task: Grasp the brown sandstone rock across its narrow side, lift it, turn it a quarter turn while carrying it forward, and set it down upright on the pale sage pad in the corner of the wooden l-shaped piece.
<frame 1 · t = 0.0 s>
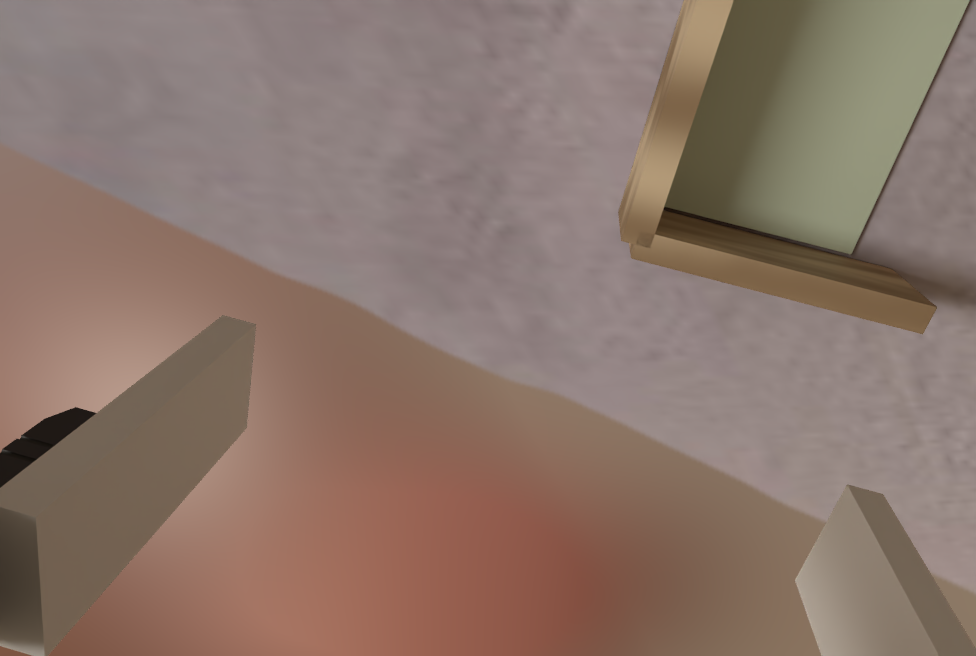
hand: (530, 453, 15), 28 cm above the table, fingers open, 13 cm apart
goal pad: (804, 105, 37), on the table
wooden l-shaped piece: (630, 215, 41), on the table
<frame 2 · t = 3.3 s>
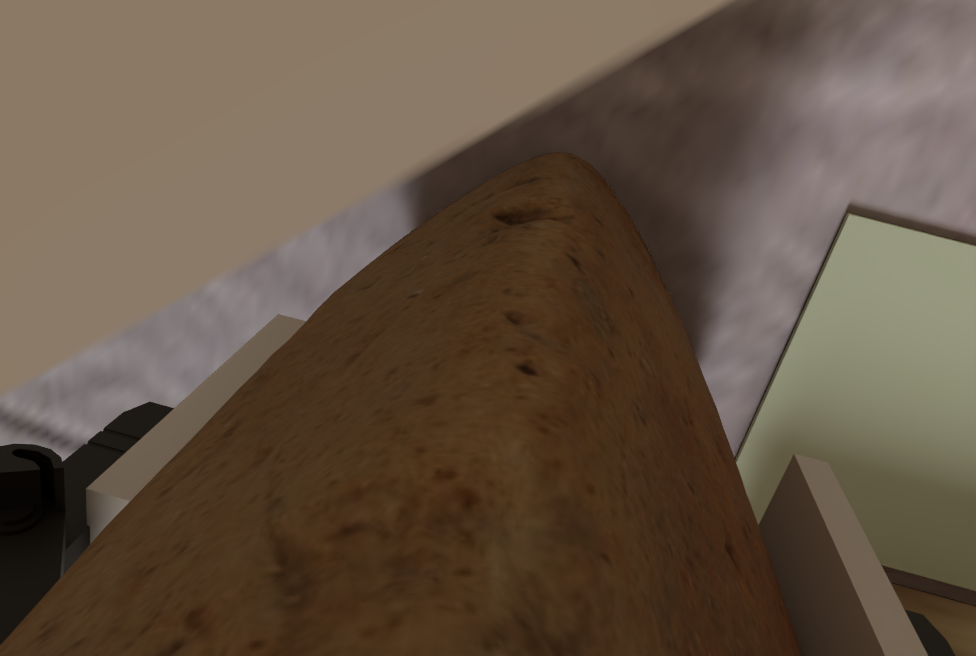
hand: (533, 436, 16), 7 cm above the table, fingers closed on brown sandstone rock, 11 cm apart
brown sandstone rock: (560, 320, 23), on the table, touching gripper
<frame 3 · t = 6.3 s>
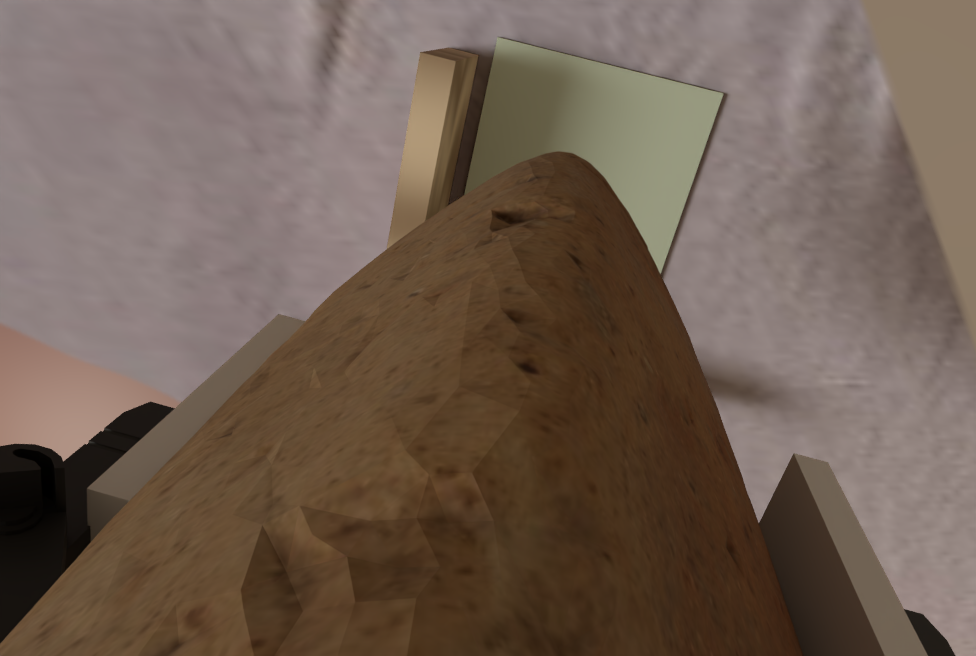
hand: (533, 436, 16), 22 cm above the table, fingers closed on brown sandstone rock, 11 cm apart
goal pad: (570, 205, 36), on the table
brown sandstone rock: (560, 319, 23), point 15 cm above the table, touching gripper
wooden l-shaped piece: (413, 308, 40), on the table
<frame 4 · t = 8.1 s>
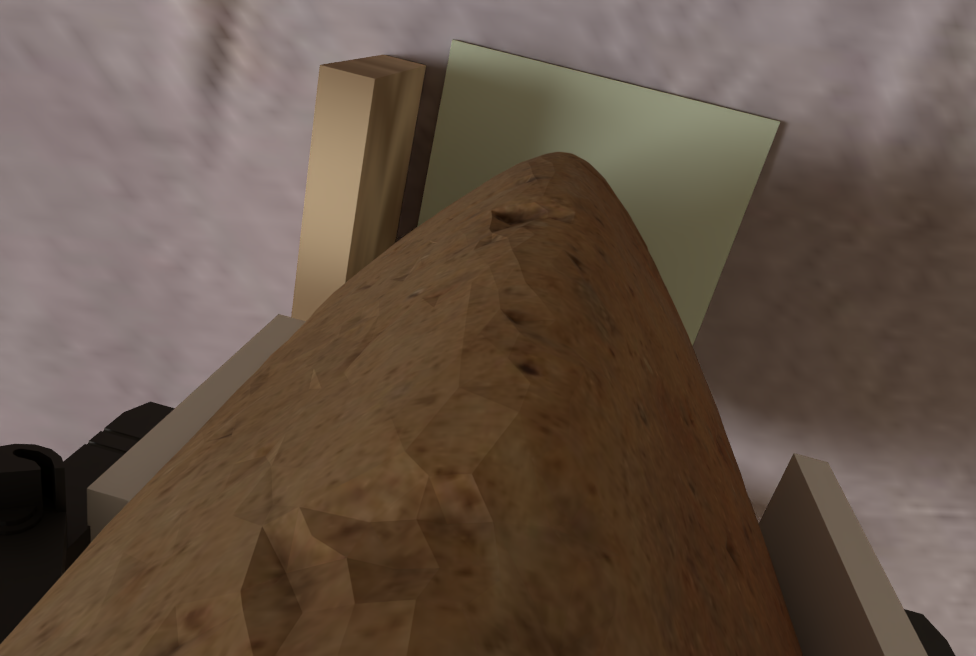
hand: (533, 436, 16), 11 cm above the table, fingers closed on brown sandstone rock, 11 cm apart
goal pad: (559, 274, 26), on the table
brown sandstone rock: (560, 319, 23), point 4 cm above the table, touching gripper
wooden l-shaped piece: (349, 405, 30), on the table
when the fingers open (8 cm above the table, at t = 9.3 s): brown sandstone rock drops 1 cm, resting on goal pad.
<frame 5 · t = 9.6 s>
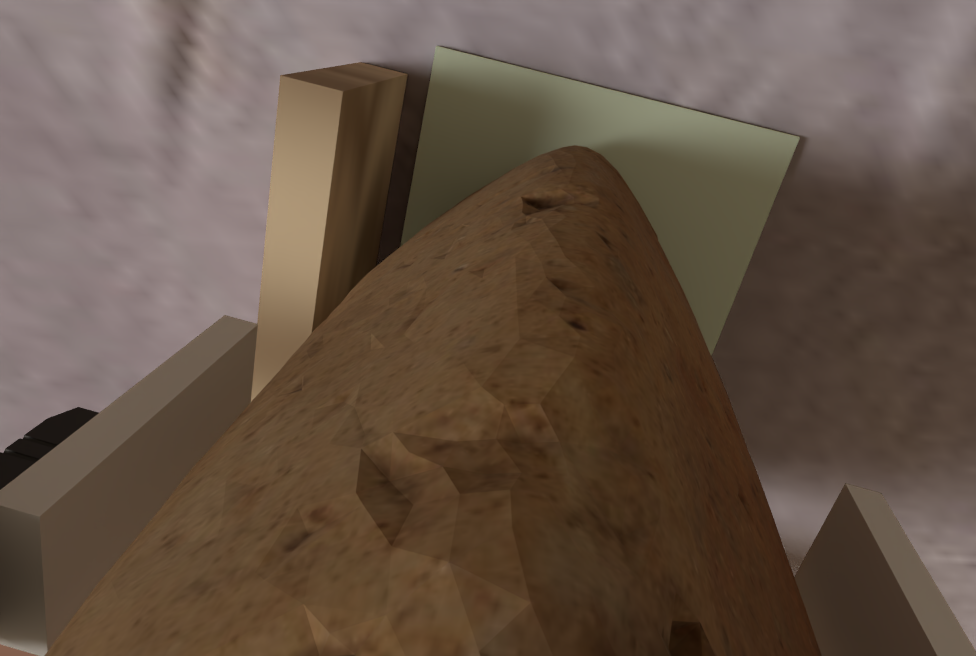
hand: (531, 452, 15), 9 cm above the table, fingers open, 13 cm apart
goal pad: (555, 302, 24), on the table
brown sandstone rock: (571, 306, 24), resting on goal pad
wooden l-shaped piece: (327, 440, 27), on the table
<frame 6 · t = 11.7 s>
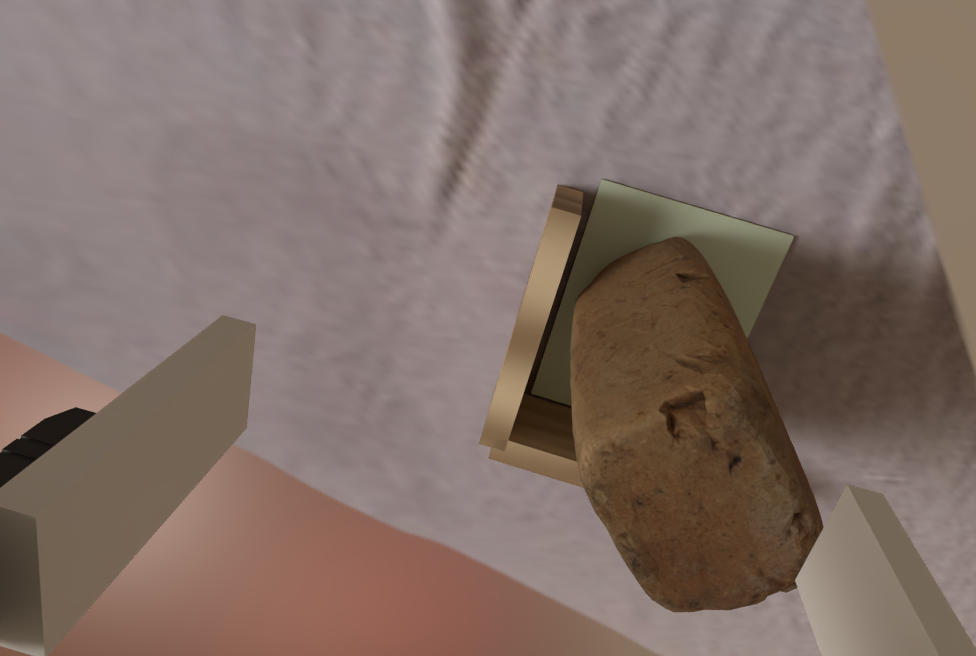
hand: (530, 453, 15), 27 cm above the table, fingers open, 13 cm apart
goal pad: (653, 319, 42), on the table
brown sandstone rock: (662, 321, 42), resting on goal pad
wooden l-shaped piece: (504, 398, 45), on the table
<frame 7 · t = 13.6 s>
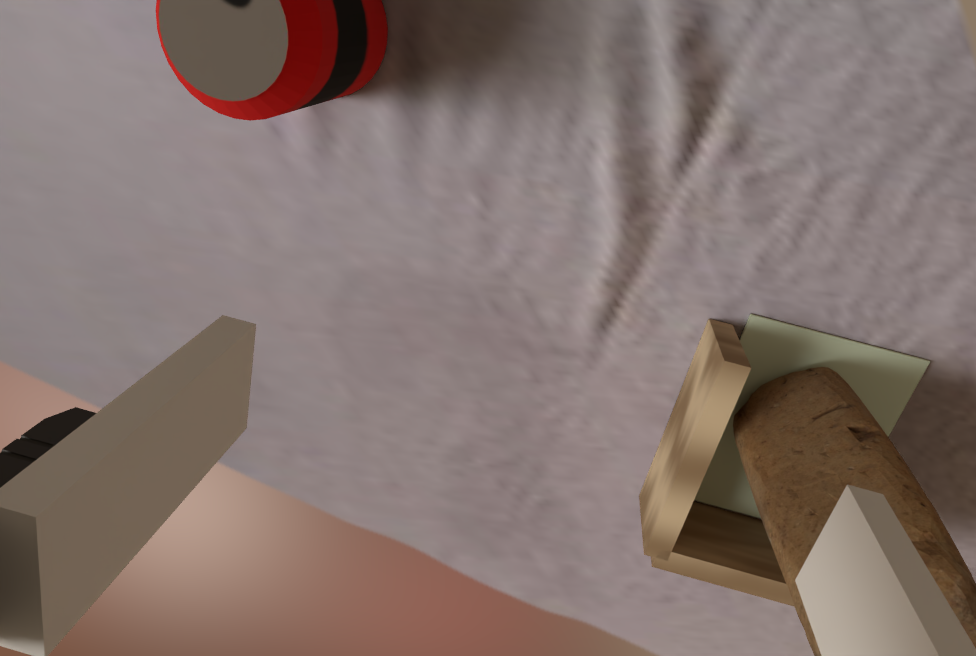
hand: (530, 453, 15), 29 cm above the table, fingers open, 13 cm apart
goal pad: (793, 431, 46), on the table
soda can: (326, 27, 40), on the table
brown sandstone rock: (802, 433, 46), resting on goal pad
wooden l-shaped piece: (649, 498, 49), on the table
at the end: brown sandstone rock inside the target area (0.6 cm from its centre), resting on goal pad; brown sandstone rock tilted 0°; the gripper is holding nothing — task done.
